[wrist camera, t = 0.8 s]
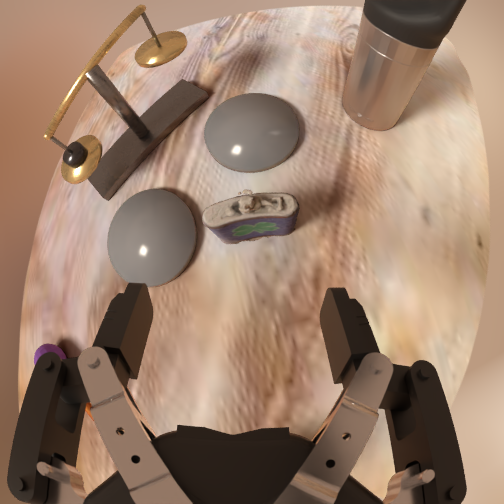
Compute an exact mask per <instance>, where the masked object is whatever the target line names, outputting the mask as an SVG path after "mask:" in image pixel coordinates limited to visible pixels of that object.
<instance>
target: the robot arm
mask: <svg viewBox="0 0 504 504" xmlns="http://www.w3.org/2000/svg"><path fill="white" fill-rule="evenodd" d="M465 2H466V0H365V4H364V9H363V13H362V18H361V23H360V27H359V32H358V37H357V41H356V45H355V50H354V54H353V58H352V62H351V66H350V70H349V74H348V78H347V81H346V85H345V89H344V93H343V97H342V104H343V107H344V109H345V111H346V113H347V114H348V115H349V116H350V118H351V119H353V120H354V121H355V122H356V123H358V124H360V125H361V126H363V127H366V128H368V129H372V130H379V131H381V130H387V129H390V128H392V127H393V126H394V125H395V124H396V123H397V121H398V119H399V118H400V116H401V114H402V113H403V111H404V109H405V108H406V106H407V104H408V102H409V101H410V99H411V97H412V95H413V94H414V92H415V90H416V88H417V87H418V85H419V83H420V81H421V79H422V78H423V76H424V74H425V72H426V70H427V68H428V67H429V65H430V63H431V61H432V59H433V57H434V55H435V53H436V51H437V49H438V47H439V46H440V44H441V42H442V40H443V38H444V37H445V36H446V35H447V34H448V32H449V31H450V29H451V28H452V26H453V24H454V22H455V20H456V18H457V16H458V14H459V13H460V11H461V9H462V7H463V6H464V4H465ZM152 320H153V306H152V303H151V299H150V295H149V292H148V288H147V285H146V284H145V283H131V282H130V283H129V284H128V285H127V288H126V290H125V292H124V293H119V294H118V295H117V296H116V297H115V298H114V299H113V300H112V301H111V303H110V305H109V307H108V309H107V312H106V314H105V316H104V319H103V321H102V324H101V326H100V328H99V331H98V333H97V336H96V338H95V341H94V343H93V346H92V347H90V348H87V349H85V350H84V351H83V352H82V353H81V354H80V356H79V357H76V358H68V359H61V358H60V357H59V355H58V354H56V353H54V352H47V353H44V354H43V355H41V356H40V357H39V359H38V360H37V362H36V365H35V367H34V370H33V373H32V376H31V379H30V382H29V385H28V388H27V391H26V394H25V397H24V400H23V404H22V407H21V411H20V415H19V418H18V423H17V427H16V431H15V435H14V440H13V445H12V450H11V456H10V462H9V468H8V476H7V482H8V487H9V489H10V491H11V493H12V494H13V495H14V496H15V497H16V498H17V499H18V500H20V501H23V502H26V503H30V504H461V502H462V501H463V500H464V498H465V495H466V490H467V488H466V480H465V474H464V469H463V463H462V458H461V453H460V449H459V444H458V440H457V436H456V432H455V428H454V425H453V421H452V417H451V414H450V410H449V407H448V404H447V401H446V397H445V394H444V391H443V388H442V385H441V382H440V379H439V377H438V374H437V371H436V369H435V367H434V366H433V365H432V364H431V363H429V362H427V361H424V360H419V361H416V362H415V363H414V364H413V365H412V366H411V367H409V366H402V365H396V364H393V363H392V362H391V361H390V359H389V358H388V357H387V356H385V355H383V354H381V353H380V351H379V348H378V346H377V343H376V340H375V338H374V335H373V332H372V330H371V327H370V325H369V322H368V319H367V318H366V314H365V312H364V309H363V307H362V306H361V305H360V303H359V302H358V301H357V300H356V299H350V298H349V296H348V293H347V291H346V289H345V288H328V289H327V291H326V294H325V298H324V301H323V304H322V308H321V311H320V325H321V329H322V333H323V337H324V341H325V345H326V350H327V354H328V358H329V363H330V367H331V371H332V376H333V381H334V384H339V383H342V384H343V388H344V389H343V391H342V392H341V394H340V396H339V398H338V399H337V401H336V403H335V405H334V406H333V408H332V410H331V411H330V413H329V415H328V416H327V418H326V420H325V421H324V423H323V424H322V426H321V427H320V429H319V430H318V431H317V433H316V434H315V436H314V437H313V439H312V440H311V441H310V440H309V439H307V438H305V437H302V436H300V435H296V434H292V433H289V427H285V428H262V429H258V430H254V431H250V432H245V433H241V434H236V435H230V434H226V433H223V432H219V431H215V430H212V429H208V428H205V427H194V426H183V425H177V431H172V432H168V433H165V434H162V435H160V436H158V437H157V436H156V434H155V432H154V431H153V429H152V428H151V426H150V425H149V424H148V422H147V421H146V419H145V417H144V416H143V414H142V412H141V410H140V409H139V407H138V405H137V403H136V401H135V399H134V398H133V396H132V394H131V392H130V390H129V388H128V386H127V384H128V380H129V378H131V379H137V377H138V373H139V369H140V365H141V361H142V357H143V353H144V349H145V346H146V342H147V338H148V334H149V331H150V327H151V324H152ZM89 402H91V405H92V407H91V408H90V412H91V415H92V417H93V420H94V422H95V424H96V427H97V429H98V431H99V433H100V436H101V438H102V440H103V442H104V444H105V446H106V448H107V450H108V452H109V454H110V456H111V458H112V460H113V462H114V464H115V465H116V467H117V469H118V470H117V471H116V472H115V473H114V474H113V475H112V476H110V477H109V478H108V479H107V480H106V481H104V482H103V483H102V484H101V485H100V486H98V487H97V488H96V489H95V490H93V491H92V492H91V493H90V494H89V495H87V494H86V492H85V490H84V482H83V478H82V475H81V474H80V472H79V471H78V470H77V469H76V461H77V454H78V447H79V441H80V435H81V429H82V424H83V418H84V413H85V409H86V404H87V403H89ZM378 408H380V409H385V414H386V419H387V424H388V429H389V435H390V440H391V446H392V452H393V459H394V465H395V472H396V474H394V475H393V476H392V478H391V479H390V481H389V483H388V488H387V495H386V497H385V499H384V500H383V501H381V500H380V499H379V498H378V497H377V496H375V495H374V494H373V493H372V492H370V491H369V490H368V489H367V488H365V487H364V486H363V485H362V484H360V483H359V482H358V481H357V480H356V479H354V478H353V477H352V476H351V475H350V472H351V471H352V469H353V467H354V465H355V464H356V462H357V460H358V458H359V456H360V454H361V452H362V451H363V449H364V447H365V445H366V443H367V441H368V439H369V437H370V435H371V433H372V431H373V428H374V426H375V424H376V422H377V419H378V416H379V414H378V413H377V411H378Z"/></svg>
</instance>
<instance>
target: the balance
mask: <svg viewBox="0 0 504 504" xmlns="http://www.w3.org/2000/svg"><path fill="white" fill-rule="evenodd" d="M145 10H146V7H145V6H144V5H139V6H137V7H136V8H135V9H134V10H133V11H132V12H131V13H130V15H128V16H127V17H126V18H125V19H124V20H123V22H122V23H121V24H120V25H119V26H118V27H117V28H116V29H115V30H114V32H113V33H112V34H111V35H110V36H109V37H108V38H107V40H106V41H105V42H104V43H103V44H102V46H101V47H100V48H99V49H98V51H97V52H96V53H95V54H94V56H93V57H92V59H91V60H90V61H89V62H88V64H87V65H86V67H85V68H84V69H83V71H82V72H81V74H80V75H79V76H78V78H77V79H76V81H75V82H74V84H73V85H72V87H71V88H70V90H69V92H68V93H67V95H66V96H65V98H64V99H63V101H62V103H61V105H60V106H59V108H58V110H57V111H56V113H55V115H54V117H53V119H52V120H51V122H50V124H49V126H48V128H47V130H46V132H45V134H44V139H45V140H52V141H53V142H54V143H56V144H57V145H59V146H60V147H61V148H63V149H64V150H65V152H64V155H63V162H62V166H61V173H62V176H63V178H64V179H65V180H66V181H67V182H69V183H71V184H78V183H81V182H83V181H85V180H86V179H88V180H89V181H90V182H91V184H92V185H93V186H94V187H95V189H96V190H97V191H98V192H99V194H100V195H101V196H102V197H103V198H104V199H106V200H108V201H109V199H110V198H111V197H112V196H113V195H114V193H115V192H116V191H117V190H118V189H119V187H120V186H121V185H122V184H123V183H124V181H125V180H126V179H127V178H128V177H129V176H130V175H131V173H132V172H133V171H134V170H135V169H136V168H137V167H138V166H139V165H140V163H141V162H142V161H143V160H144V159H145V158H146V157H147V156H148V155H149V154H150V153H151V152H152V151H153V150H154V149H155V148H156V147H157V146H158V144H159V143H160V142H161V141H162V140H163V139H164V138H165V137H166V136H167V135H168V134H170V133H171V132H172V131H173V130H174V129H175V128H176V127H177V126H178V125H179V124H180V123H181V122H182V121H183V120H184V119H185V118H186V117H187V116H189V115H190V114H191V113H192V112H193V111H194V110H195V109H196V108H197V107H199V106H200V105H201V104H202V103H203V102H204V101H206V100H207V99H208V98H209V97H208V94H207V92H206V91H204V90H202V89H200V88H198V87H197V86H195V85H193V84H191V83H189V82H187V81H185V80H183V79H182V80H181V81H179V82H178V83H177V84H176V85H175V86H173V87H172V88H171V89H170V90H169V91H168V92H166V93H165V94H164V95H163V96H162V97H161V98H160V99H159V100H157V101H156V102H155V103H154V104H153V105H152V106H151V107H150V108H149V109H148V110H147V111H146V112H145V113H144V114H143V115H141V116H140V117H139V116H138V115H137V114H136V113H135V111H134V110H133V109H132V108H131V106H130V105H129V104H128V102H127V101H126V100H125V99H124V97H123V96H122V95H121V94H120V92H119V91H118V90H117V88H116V87H115V86H114V85H113V83H112V82H111V81H110V80H109V78H108V77H107V76H106V74H105V73H104V72H103V71H102V69H101V68H100V67H99V66H98V64H99V62H100V61H101V60H102V59H103V57H104V56H105V55H106V54H107V52H108V51H109V50H110V49H111V47H112V46H113V45H114V44H115V43H116V41H117V40H118V39H119V38H120V37H121V36H122V35H123V33H124V32H125V31H126V30H127V29H128V28H129V27H130V26H131V25H132V24H133V22H135V20H136V19H137V18H138V17H139V16H140V15H142V17H143V19H144V21H145V23H146V25H147V27H148V29H149V31H150V33H151V35H152V38H150V39H148V40H147V41H146V42H144V43H143V44H142V45H141V46H140V47H139V48H138V50H137V51H136V53H135V60H136V61H137V63H138V65H139V66H141V67H145V68H151V67H156V66H160V65H163V64H165V63H167V62H169V61H171V60H173V59H174V58H176V57H177V56H179V55H180V54H181V53H182V52H183V51H184V49H185V48H186V46H187V39H186V37H185V35H184V34H183V33H182V32H179V31H169V32H165V33H161V34H158V35H156V34H155V32H154V30H153V28H152V26H151V24H150V22H149V20H148V18H147V16H146V14H145V12H144V11H145ZM86 80H88V81H89V82H90V84H91V85H92V86H93V87H94V88H95V89H96V90H97V91H98V93H99V94H100V95H101V96H102V97H103V98H104V99H105V101H106V102H107V103H108V104H109V105H110V106H111V107H112V108H113V110H114V111H115V112H116V113H117V114H118V115H119V116H120V117H121V119H122V120H123V121H124V122H125V123H126V124H127V125H128V127H129V128H128V129H127V131H126V132H125V133H124V134H123V135H122V136H121V137H120V138H119V139H118V140H117V141H116V142H115V143H114V144H113V146H112V147H111V148H110V149H109V150H108V151H107V152H106V153H105V155H104V156H103V157H102V158H101V156H102V144H101V142H100V141H99V140H98V139H97V138H96V137H95V136H92V135H86V136H83V137H81V138H79V139H78V140H77V141H75V142H73V143H71V144H70V145H69V146H68V147H67V146H66V145H64V144H63V143H61V142H60V141H59V140H57V139H56V138H55V137H53V135H54V133H55V131H56V129H57V127H58V125H59V123H60V122H61V120H62V118H63V117H64V115H65V113H66V111H67V110H68V108H69V106H70V105H71V103H72V102H73V100H74V98H75V97H76V95H77V94H78V92H79V90H80V89H81V88H82V86H83V85H84V83H85V82H86Z"/></svg>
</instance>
